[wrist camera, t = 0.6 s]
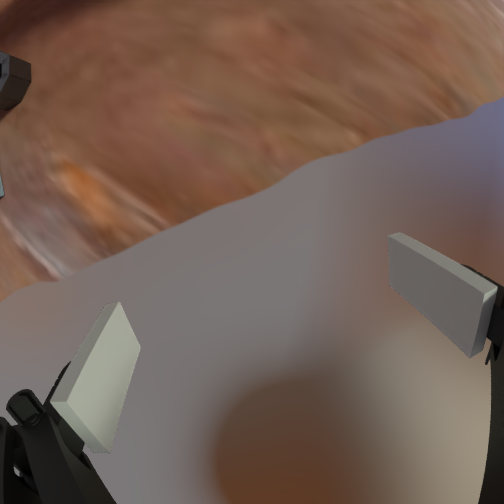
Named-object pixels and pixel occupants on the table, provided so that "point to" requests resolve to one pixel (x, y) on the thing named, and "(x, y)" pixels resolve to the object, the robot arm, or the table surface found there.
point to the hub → (13, 80)
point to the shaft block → (1, 188)
